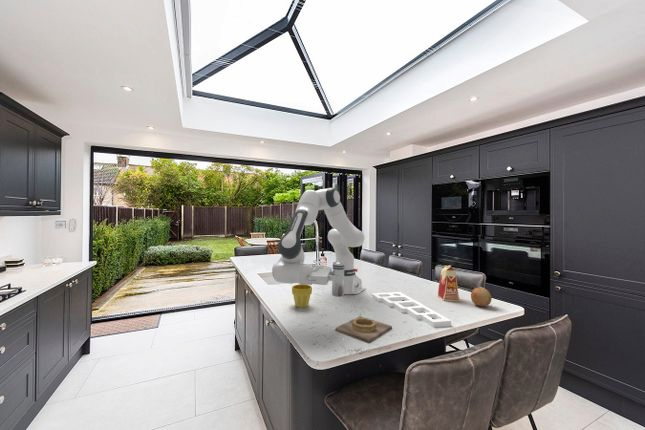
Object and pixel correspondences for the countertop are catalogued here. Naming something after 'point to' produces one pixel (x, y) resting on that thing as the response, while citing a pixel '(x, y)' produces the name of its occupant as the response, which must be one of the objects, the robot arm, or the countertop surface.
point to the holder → (412, 308)
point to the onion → (481, 296)
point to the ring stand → (364, 328)
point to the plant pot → (301, 294)
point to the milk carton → (448, 285)
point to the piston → (338, 284)
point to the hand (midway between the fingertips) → (340, 276)
